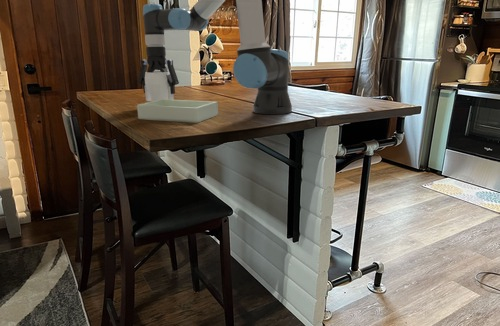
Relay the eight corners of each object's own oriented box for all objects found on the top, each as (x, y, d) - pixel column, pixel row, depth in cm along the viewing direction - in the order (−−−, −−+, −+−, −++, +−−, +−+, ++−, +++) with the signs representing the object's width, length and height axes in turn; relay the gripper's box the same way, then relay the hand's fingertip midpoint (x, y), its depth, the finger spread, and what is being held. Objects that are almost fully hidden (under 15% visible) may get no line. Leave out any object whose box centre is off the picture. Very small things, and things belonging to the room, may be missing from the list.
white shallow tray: (217, 115, 144) (217, 101, 143) (197, 122, 130) (196, 108, 128) (163, 111, 153) (162, 99, 151) (138, 118, 138) (137, 105, 137)
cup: (167, 110, 155) (164, 72, 150) (142, 110, 157) (139, 72, 153) (177, 106, 165) (174, 70, 160) (154, 106, 167) (151, 70, 162)
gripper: (185, 45, 153) (188, 101, 159) (137, 46, 161) (142, 99, 167) (175, 45, 146) (179, 103, 153) (125, 46, 154) (131, 101, 161)
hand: (159, 101), depth 160 cm, fingers closed on cup, 10 cm apart
